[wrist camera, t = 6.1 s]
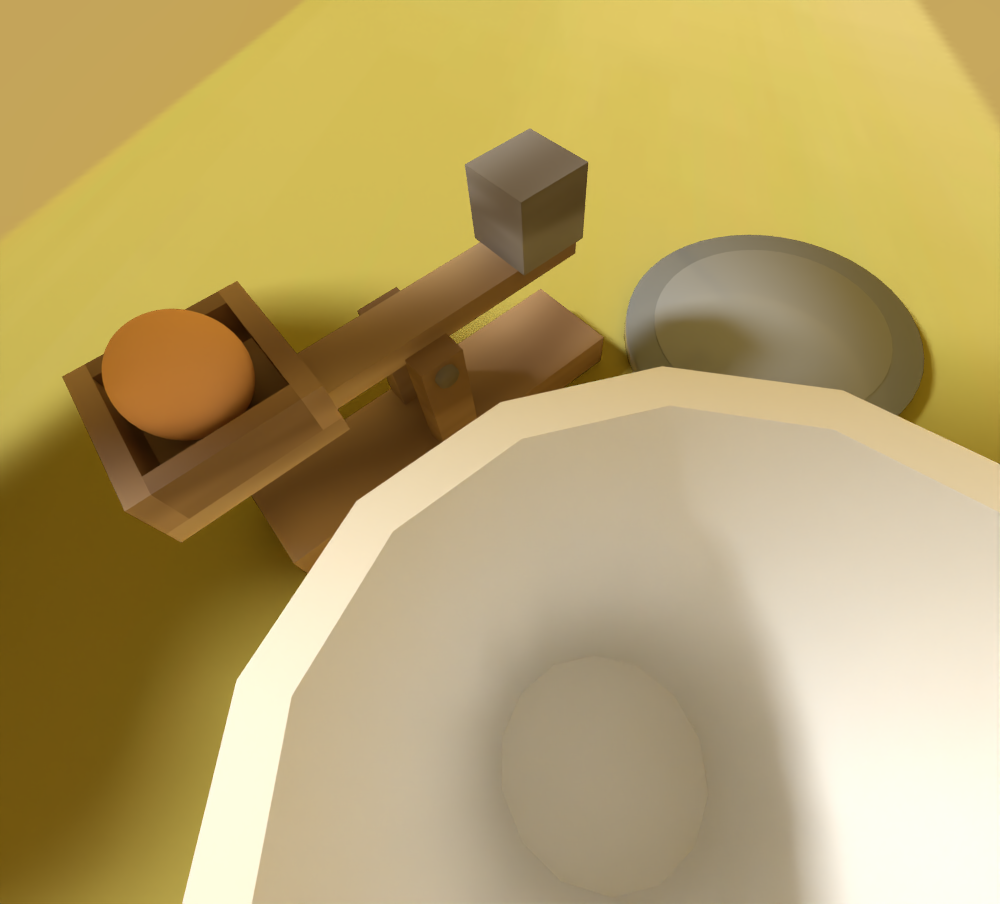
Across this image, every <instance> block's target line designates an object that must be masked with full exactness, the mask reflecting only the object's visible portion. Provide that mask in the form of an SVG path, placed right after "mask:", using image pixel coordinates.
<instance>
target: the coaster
mask: <svg viewBox="0 0 1000 904" xmlns="http://www.w3.org/2000/svg"><path fill="white" fill-rule="evenodd" d="M624 341H625V349H626V353H627V357H628V360H629V363H630V366H631V368H632V370H633V372H639V371H643V370H648V369H652V368H657V367H661V366H664V367H672V368H679V369H687V370H694V371H702V372H709V373H717V374H724V375H732V376H739V377H747V378H754V379H762V380H769V381H777V382H784V383H792V384H799V385H807V386H814V387H822V388H829V389H837V390H843V391H846V392H848V393H850V394H852V395H854V396H856V397H858V398H860V399H863V400H865V401H867V402H869V403H871V404H873V405H875V406H877V407H880V408H882V409H884V410H886V411H888V412H890V413H892V414H894V415H897V416H898V415H899V414H900V413H901V412H902V411H903V410H904V409H905V408H906V406H907V405H908V404H909V403H910V402H911V400H912V399H913V397H914V395H915V393H916V391H917V389H918V388H919V385H920V381H921V378H922V375H923V367H924V352H923V344H922V340H921V337H920V334H919V330H918V328H917V326H916V324H915V322H914V320H913V318H912V316H911V314H910V313H909V311H908V310H907V309H906V307H905V306H904V304H903V303H902V302H901V300H900V299H899V298H898V297H897V296H896V295H895V294H894V293H893V291H892V290H891V289H889V288H888V287H887V286H886V285H885V284H884V283H883V282H882V281H881V280H879V279H878V278H877V277H875V276H874V275H873V274H871V273H870V272H869V271H867V270H866V269H864V268H863V267H861V266H859V265H857V264H856V263H854V262H852V261H851V260H849V259H847V258H845V257H843V256H840V255H838V254H836V253H834V252H832V251H829V250H826V249H824V248H821V247H818V246H815V245H812V244H808V243H805V242H801V241H797V240H792V239H787V238H781V237H773V236H763V235H736V236H726V237H718V238H713V239H708V240H704V241H700V242H697V243H694V244H691V245H688V246H685V247H683V248H681V249H679V250H677V251H675V252H673V253H671V254H669V255H668V256H666V257H665V258H663V259H661V260H660V261H659V262H658V263H656V264H655V265H654V266H653V267H651V268H650V270H649V271H648V272H647V273H646V274H645V275H644V276H643V277H642V279H641V280H640V282H639V283H638V285H637V286H636V288H635V290H634V292H633V294H632V296H631V299H630V302H629V306H628V310H627V315H626V321H625V330H624Z"/></svg>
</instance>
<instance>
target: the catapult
mask: <svg viewBox="0 0 1000 904" xmlns="http://www.w3.org/2000/svg"><path fill="white" fill-rule="evenodd" d="M465 169H466V176H467V183H468V190H469V197H470V205H471V212H472V219H473V226H474V233H475V238H476V239H477V240H478V241H480V243H478V244H477V245H475V246H473V247H472V248H470V249H468V250H467V251H465V252H463V253H462V254H460V255H459V256H457V257H455V258H454V259H452V260H450V261H449V262H447V263H445V264H444V265H442V266H440V267H439V268H437V269H436V270H434V271H432V272H431V273H429V274H427V275H426V276H424V277H422V278H421V279H419V280H417V281H416V282H414V283H413V284H411V285H409V286H408V287H406V288H404V289H403V290H401V291H400V290H399V289H398V288H397V287H396V288H394V289H392V290H391V291H389V292H387V293H386V294H384V295H382V296H381V297H379V298H377V299H376V300H374V301H372V302H371V303H369V304H368V305H366V306H364V307H363V308H361V309H359V310H358V314H359V316H358V317H357V318H355V319H353V320H352V321H350V322H348V323H347V324H345V325H344V326H342V327H340V328H339V329H337V330H335V331H334V332H332V333H330V334H329V335H327V336H325V337H324V338H322V339H321V340H319V341H317V342H316V343H314V344H312V345H311V346H309V347H307V348H306V349H304V350H302V351H301V352H299V353H298V354H297V353H296V352H295V351H294V350H293V349H292V347H291V346H290V345H289V344H288V343H287V341H286V340H285V339H284V338H283V336H282V335H281V334H280V333H279V332H278V330H277V329H276V328H275V327H274V325H273V324H272V323H271V322H270V321H269V319H268V318H267V317H266V316H265V314H264V313H263V312H262V311H261V310H260V308H259V307H258V306H257V305H256V304H255V302H254V301H253V300H252V299H251V297H250V296H249V295H248V294H247V293H246V291H245V290H244V289H243V288H242V286H241V285H240V284H239V283H238V282H237V281H236V282H235V283H233V284H231V285H229V286H227V287H225V288H224V289H222V290H220V291H218V292H216V293H214V294H213V295H211V296H209V297H207V298H205V299H203V300H202V301H200V302H198V303H196V304H194V305H192V306H191V307H189V308H187V309H185V310H189V311H193V312H197V313H201V314H204V315H206V316H208V317H211V318H213V319H215V320H217V321H218V322H220V323H222V324H223V325H225V326H226V327H227V328H228V329H230V330H231V331H232V332H233V333H234V334H235V335H236V336H237V337H238V338H239V339H240V340H241V342H242V343H243V345H244V346H245V348H246V349H247V351H248V353H249V355H250V357H251V360H252V363H253V367H254V372H255V388H254V393H253V397H252V400H251V402H250V404H249V406H248V408H247V409H246V411H245V413H243V414H241V415H240V416H238V417H237V418H235V419H233V420H232V421H230V422H229V423H227V424H225V425H224V426H222V427H221V428H219V429H217V430H216V431H214V432H213V433H211V434H209V435H208V436H206V437H205V438H203V439H199V440H189V441H180V440H170V439H165V438H161V437H158V436H154V435H152V434H149V433H147V432H145V431H143V430H141V429H139V428H138V427H136V426H135V425H133V424H131V423H130V422H129V421H128V420H126V419H125V418H124V417H123V416H122V415H121V414H120V413H119V412H118V411H117V409H116V408H115V407H114V405H113V404H112V402H111V401H110V399H109V397H108V395H107V393H106V390H105V387H104V384H103V379H102V360H103V355H104V354H103V355H101V356H99V357H97V358H96V359H94V360H92V361H90V362H88V363H86V364H85V365H83V366H81V367H79V368H77V369H76V370H74V371H72V372H70V373H68V374H66V375H65V376H63V379H64V382H65V384H66V386H67V388H68V390H69V392H70V395H71V397H72V399H73V401H74V403H75V405H76V407H77V410H78V412H79V414H80V416H81V418H82V420H83V423H84V425H85V427H86V429H87V431H88V433H89V436H90V438H91V440H92V442H93V444H94V446H95V448H96V451H97V453H98V455H99V457H100V459H101V461H102V464H103V466H104V468H105V470H106V472H107V474H108V477H109V479H110V481H111V483H112V485H113V487H114V490H115V492H116V494H117V496H118V498H119V500H120V502H121V505H122V507H123V509H124V511H125V512H126V513H128V514H130V515H132V516H134V517H136V518H137V519H139V520H141V521H143V522H145V523H147V524H148V525H150V526H152V527H154V528H156V529H158V530H159V531H161V532H163V533H165V534H167V535H169V536H170V537H172V538H174V539H176V540H178V541H180V542H181V543H182V542H183V541H185V540H186V539H188V538H189V537H191V536H192V535H194V534H195V533H197V532H198V531H200V530H201V529H202V528H204V527H205V526H207V525H208V524H210V523H211V522H213V521H214V520H216V519H217V518H219V517H220V516H222V515H223V514H225V513H226V512H228V511H229V510H231V509H232V508H234V507H235V506H237V505H238V504H240V503H241V502H243V501H244V500H246V499H247V498H248V497H250V496H252V498H253V499H254V501H255V502H256V504H257V506H258V507H259V509H260V510H261V512H262V514H263V515H264V517H265V518H266V520H267V522H268V523H269V525H270V526H271V528H272V530H273V531H274V533H275V534H276V536H277V538H278V539H279V541H280V542H281V544H282V546H283V547H284V549H285V550H286V552H287V554H288V555H289V557H290V558H291V560H292V562H293V563H294V564H295V565H296V566H298V567H299V568H301V569H302V570H304V571H305V572H306V573H309V571H310V570H311V568H312V567H313V565H314V564H315V562H316V561H317V559H318V558H319V556H320V555H321V553H322V552H323V550H324V549H325V547H326V546H327V544H328V543H329V541H330V540H331V538H332V537H333V535H334V534H335V532H336V531H337V529H338V528H339V526H340V525H341V523H342V522H343V520H344V519H345V518H346V516H347V515H348V513H349V512H350V510H351V509H352V507H353V506H354V504H355V503H356V501H357V500H359V499H360V498H362V497H363V496H365V495H366V494H367V493H369V492H370V491H372V490H373V489H375V488H376V487H378V486H379V485H381V484H382V483H383V482H385V481H386V480H388V479H389V478H391V477H392V476H394V475H395V474H397V473H398V472H400V471H401V470H402V469H404V468H405V467H407V466H408V465H410V464H411V463H413V462H414V461H416V460H417V459H418V458H420V457H421V456H423V455H424V454H426V453H427V452H429V451H430V450H432V449H433V448H434V447H436V446H437V445H439V444H440V443H442V442H443V441H445V440H446V439H448V438H449V437H451V436H452V435H453V434H455V433H456V432H458V431H459V430H461V429H462V428H464V427H465V426H467V425H468V424H469V423H471V422H472V421H474V420H475V419H477V418H478V417H480V416H481V415H483V414H484V413H485V412H487V411H488V410H490V409H491V408H493V407H494V406H496V405H497V404H499V403H500V402H504V401H508V400H513V399H517V398H522V397H526V396H531V395H535V394H540V393H544V392H549V391H553V390H558V389H562V388H564V387H565V386H566V385H568V384H569V383H570V382H572V381H573V380H575V379H576V378H577V377H579V376H580V375H581V374H583V373H584V372H585V371H587V370H588V369H589V368H591V367H592V366H593V365H595V364H596V363H597V362H599V361H600V360H601V353H602V346H603V339H604V337H603V336H601V335H600V334H599V333H597V332H596V331H595V330H594V329H592V328H591V327H590V326H588V325H587V324H586V323H584V322H583V321H582V320H581V319H579V318H578V317H577V316H575V315H574V314H573V313H571V312H570V311H569V310H568V309H566V308H565V307H564V306H562V305H561V304H560V303H558V302H557V301H556V300H555V299H553V298H552V297H551V296H549V295H548V294H547V293H545V292H544V291H543V290H542V289H540V290H538V291H537V292H535V293H534V294H532V295H531V296H529V297H528V298H526V299H525V300H523V301H522V302H520V303H519V304H517V305H516V306H514V307H513V308H511V309H510V310H508V311H507V312H505V313H504V314H502V315H501V316H499V317H498V318H496V319H495V320H493V321H492V322H490V323H489V324H487V325H486V326H484V327H483V328H481V329H480V330H478V331H477V332H475V333H474V334H472V335H471V336H469V337H468V338H466V339H465V340H463V341H462V342H460V343H459V344H457V343H456V342H455V341H453V340H452V339H451V338H450V337H449V336H450V335H451V334H453V333H454V332H456V331H457V330H459V329H461V328H462V327H464V326H465V325H467V324H468V323H470V322H471V321H473V320H474V319H476V318H477V317H479V316H480V315H482V314H483V313H485V312H486V311H488V310H489V309H491V308H493V307H494V306H496V305H497V304H499V303H500V302H502V301H503V300H505V299H506V298H508V297H509V296H511V295H512V294H514V293H515V292H517V291H518V290H520V289H521V288H523V287H524V286H526V285H528V284H529V283H531V282H532V281H534V280H535V279H537V278H538V277H540V276H541V275H543V274H544V273H546V272H547V271H549V270H550V269H552V268H553V267H555V266H556V265H558V264H559V263H561V262H563V261H564V260H566V259H567V258H569V257H570V256H572V255H573V254H575V248H576V242H577V241H579V240H580V239H582V238H583V225H584V212H585V198H586V185H587V171H588V162H587V161H585V160H583V159H582V158H580V157H578V156H577V155H575V154H573V153H571V152H570V151H568V150H566V149H564V148H563V147H561V146H559V145H558V144H556V143H554V142H552V141H551V140H549V139H547V138H545V137H544V136H542V135H540V134H539V133H537V132H535V131H533V130H532V129H528V130H526V131H525V132H523V133H521V134H519V135H517V136H515V137H514V138H512V139H510V140H508V141H506V142H505V143H503V144H501V145H499V146H497V147H496V148H494V149H492V150H490V151H488V152H486V153H485V154H483V155H481V156H479V157H477V158H476V159H474V160H472V161H470V162H468V163H467V164H465ZM384 378H387V380H388V382H389V385H390V387H391V389H390V390H388V391H387V392H385V393H384V394H382V395H381V396H379V397H378V398H376V399H375V400H373V401H372V402H370V403H369V404H367V405H366V406H364V407H363V408H361V409H360V410H358V411H357V412H355V413H354V414H352V415H351V416H349V417H348V418H346V419H345V420H344V419H343V417H342V415H341V414H340V412H339V411H338V409H339V408H340V407H342V406H343V405H345V404H346V403H348V402H349V401H351V400H352V399H354V398H355V397H357V396H359V395H360V394H362V393H363V392H365V391H366V390H368V389H369V388H371V387H372V386H374V385H375V384H377V383H378V382H380V381H381V380H383V379H384Z"/></svg>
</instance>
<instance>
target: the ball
mask: <svg viewBox="0 0 1000 904" xmlns="http://www.w3.org/2000/svg"><path fill="white" fill-rule="evenodd" d="M102 379H103V384H104V387H105V390H106V393H107V395H108V397H109V399H110V401H111V402H112V404H113V405H114V407H115V408H116V409H117V411H118V412H119V413H120V414H121V415H122V416H123V417H124V418H125V419H126V420H128V421H129V422H130V423H131V424H133V425H135V426H136V427H138V428H139V429H141V430H143V431H145V432H147V433H149V434H152V435H154V436H158V437H161V438H165V439H170V440H180V441H189V440H199V439H203V438H205V437H206V436H208V435H209V434H211V433H213V432H214V431H216V430H217V429H219V428H221V427H222V426H224V425H225V424H227V423H229V422H230V421H232V420H233V419H235V418H237V417H238V416H240V415H241V414H243V413H245V411H246V409H247V408H248V406H249V404H250V402H251V400H252V397H253V393H254V388H255V372H254V367H253V363H252V360H251V357H250V355H249V353H248V351H247V349H246V348H245V346H244V345H243V343H242V342H241V340H240V339H239V338H238V337H237V336H236V335H235V334H234V333H233V332H232V331H231V330H230V329H228V328H227V327H226V326H225V325H223V324H222V323H220V322H218V321H217V320H215V319H213V318H211V317H208V316H206V315H204V314H201V313H197V312H193V311H189V310H181V309H163V310H156V311H151V312H148V313H145V314H142V315H140V316H138V317H136V318H134V319H132V320H130V321H129V322H127V323H126V324H125V325H123V326H122V327H121V328H120V329H119V330H118V331H117V332H116V333H115V334H114V335H113V337H112V338H111V339H110V341H109V343H108V345H107V347H106V349H105V352H104V355H103V360H102Z"/></svg>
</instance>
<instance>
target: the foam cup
mask: <svg viewBox="0 0 1000 904" xmlns="http://www.w3.org/2000/svg"><path fill="white" fill-rule="evenodd" d="M182 904H1000V464H999V463H996V462H994V461H992V460H990V459H988V458H986V457H984V456H982V455H979V454H977V453H975V452H973V451H971V450H969V449H967V448H965V447H962V446H960V445H958V444H956V443H954V442H952V441H950V440H948V439H945V438H943V437H941V436H939V435H937V434H935V433H933V432H931V431H928V430H926V429H924V428H922V427H920V426H918V425H916V424H914V423H911V422H909V421H907V420H905V419H903V418H901V417H899V416H897V415H894V414H892V413H890V412H888V411H886V410H884V409H882V408H880V407H877V406H875V405H873V404H871V403H869V402H867V401H865V400H863V399H860V398H858V397H856V396H854V395H852V394H850V393H848V392H846V391H843V390H837V389H829V388H822V387H814V386H807V385H799V384H792V383H784V382H777V381H769V380H762V379H754V378H747V377H739V376H732V375H724V374H717V373H709V372H702V371H694V370H687V369H679V368H672V367H664V366H661V367H657V368H652V369H648V370H643V371H639V372H634V373H630V374H625V375H621V376H616V377H612V378H607V379H603V380H598V381H594V382H589V383H585V384H580V385H576V386H571V387H567V388H562V389H558V390H553V391H549V392H544V393H540V394H535V395H531V396H526V397H522V398H517V399H513V400H508V401H504V402H500V403H499V404H497V405H496V406H494V407H493V408H491V409H490V410H488V411H487V412H485V413H484V414H483V415H481V416H480V417H478V418H477V419H475V420H474V421H472V422H471V423H469V424H468V425H467V426H465V427H464V428H462V429H461V430H459V431H458V432H456V433H455V434H453V435H452V436H451V437H449V438H448V439H446V440H445V441H443V442H442V443H440V444H439V445H437V446H436V447H434V448H433V449H432V450H430V451H429V452H427V453H426V454H424V455H423V456H421V457H420V458H418V459H417V460H416V461H414V462H413V463H411V464H410V465H408V466H407V467H405V468H404V469H402V470H401V471H400V472H398V473H397V474H395V475H394V476H392V477H391V478H389V479H388V480H386V481H385V482H383V483H382V484H381V485H379V486H378V487H376V488H375V489H373V490H372V491H370V492H369V493H367V494H366V495H365V496H363V497H362V498H360V499H359V500H357V501H356V503H355V504H354V506H353V507H352V509H351V510H350V512H349V513H348V515H347V516H346V518H345V519H344V520H343V522H342V523H341V525H340V526H339V528H338V529H337V531H336V532H335V534H334V535H333V537H332V538H331V540H330V541H329V543H328V544H327V546H326V547H325V549H324V550H323V552H322V553H321V555H320V556H319V558H318V559H317V561H316V562H315V564H314V565H313V567H312V568H311V570H310V571H309V573H308V574H307V576H306V577H305V579H304V580H303V582H302V583H301V585H300V586H299V588H298V589H297V591H296V592H295V594H294V595H293V597H292V598H291V600H290V601H289V603H288V604H287V606H286V607H285V609H284V610H283V612H282V613H281V615H280V616H279V618H278V619H277V621H276V622H275V624H274V625H273V627H272V628H271V630H270V631H269V633H268V634H267V636H266V637H265V639H264V640H263V642H262V643H261V645H260V646H259V648H258V649H257V651H256V652H255V654H254V655H253V657H252V658H251V660H250V661H249V663H248V664H247V666H246V667H245V669H244V670H243V672H242V673H241V675H240V676H239V678H238V679H237V681H236V685H235V689H234V693H233V697H232V701H231V705H230V710H229V714H228V718H227V722H226V726H225V730H224V734H223V738H222V742H221V747H220V751H219V755H218V759H217V763H216V767H215V771H214V775H213V779H212V784H211V788H210V792H209V796H208V800H207V804H206V808H205V812H204V816H203V820H202V825H201V829H200V833H199V837H198V841H197V845H196V849H195V853H194V857H193V862H192V866H191V870H190V874H189V878H188V882H187V886H186V890H185V894H184V899H183V903H182Z"/></svg>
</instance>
